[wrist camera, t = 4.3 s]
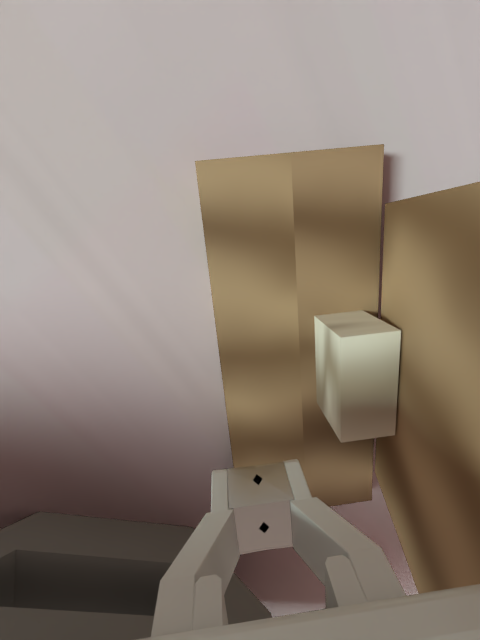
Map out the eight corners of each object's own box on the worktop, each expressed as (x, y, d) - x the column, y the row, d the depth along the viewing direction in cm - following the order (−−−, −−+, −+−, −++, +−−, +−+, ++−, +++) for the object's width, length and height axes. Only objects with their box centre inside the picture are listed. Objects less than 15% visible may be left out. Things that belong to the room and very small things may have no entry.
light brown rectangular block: (362, 484, 24) (403, 554, 19) (238, 502, 24) (245, 579, 18) (370, 151, 17) (437, 115, 12) (196, 167, 17) (188, 136, 12)
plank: (521, 756, 10) (474, 749, 10) (394, 469, 21) (373, 468, 22) (715, 138, 5) (609, 151, 5) (410, 201, 16) (383, 204, 17)
